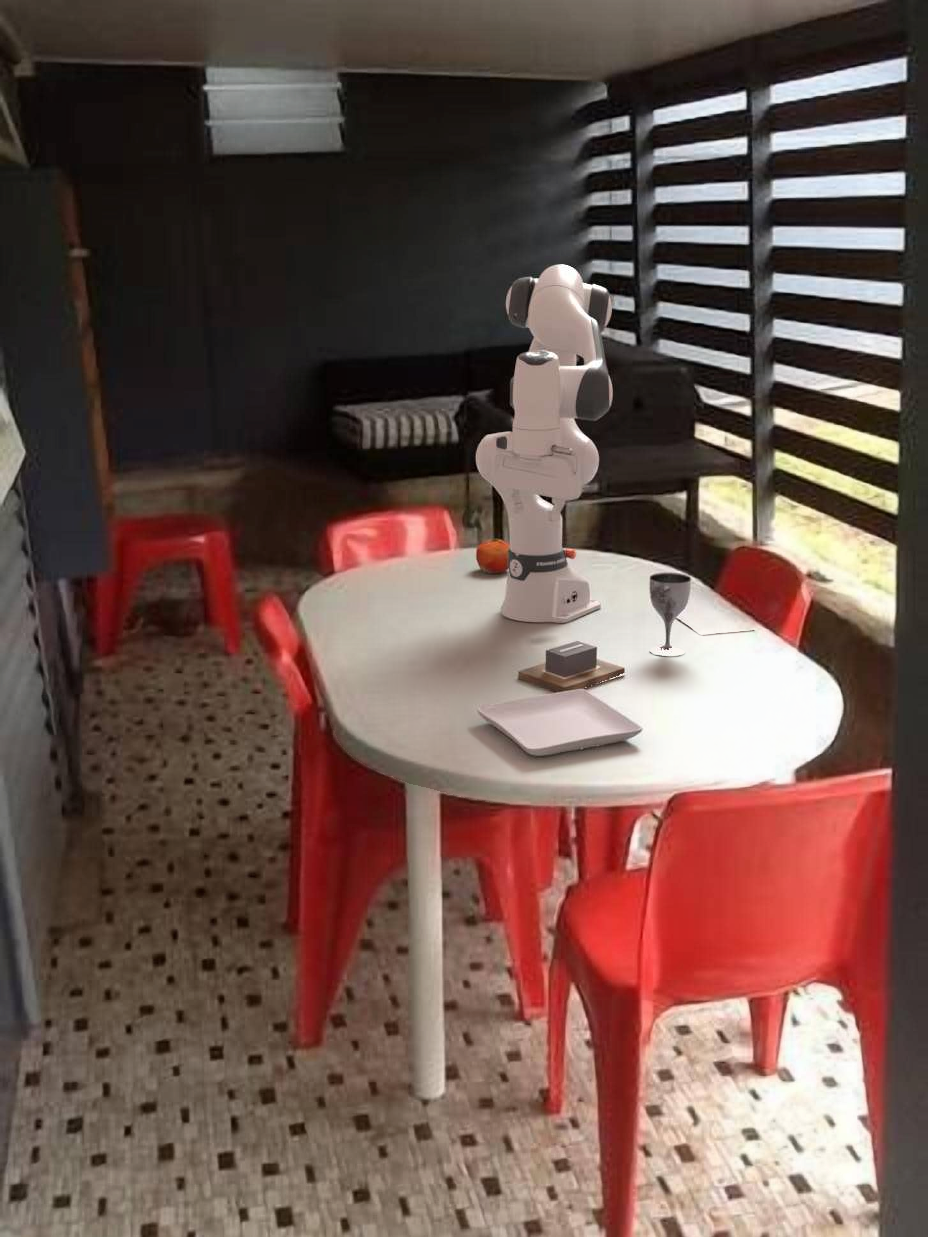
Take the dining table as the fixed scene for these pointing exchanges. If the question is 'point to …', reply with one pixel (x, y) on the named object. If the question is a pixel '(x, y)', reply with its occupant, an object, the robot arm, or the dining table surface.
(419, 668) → the dining table surface
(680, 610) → the wine glass
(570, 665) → the socket block
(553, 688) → the pin board
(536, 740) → the salad plate
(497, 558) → the tomato
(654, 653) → the dining table surface
